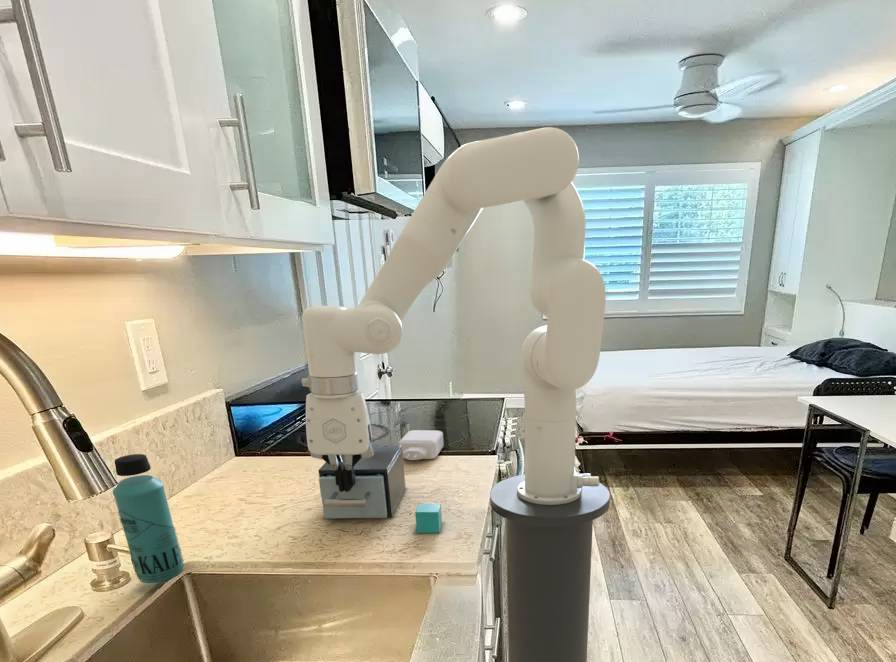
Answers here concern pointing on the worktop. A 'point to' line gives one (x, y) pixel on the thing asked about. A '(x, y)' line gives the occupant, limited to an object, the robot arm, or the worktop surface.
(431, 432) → the charger
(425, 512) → the teal rounded cube
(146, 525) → the beverage bottle
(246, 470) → the worktop surface
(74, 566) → the worktop surface
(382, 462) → the drawer cabinet
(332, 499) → the light blue drawer
